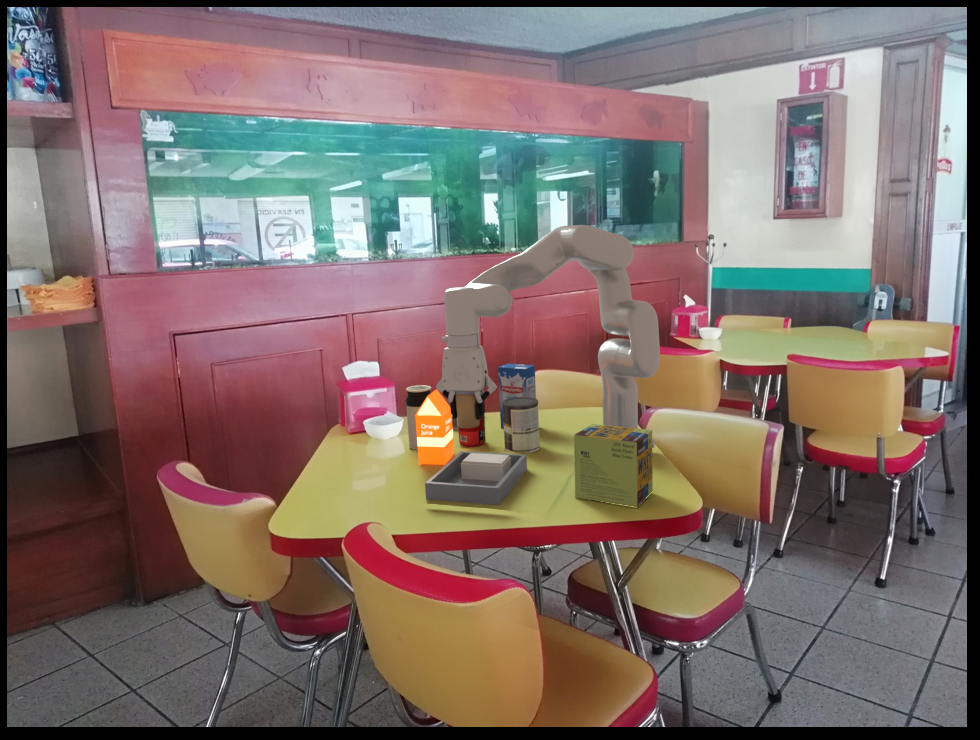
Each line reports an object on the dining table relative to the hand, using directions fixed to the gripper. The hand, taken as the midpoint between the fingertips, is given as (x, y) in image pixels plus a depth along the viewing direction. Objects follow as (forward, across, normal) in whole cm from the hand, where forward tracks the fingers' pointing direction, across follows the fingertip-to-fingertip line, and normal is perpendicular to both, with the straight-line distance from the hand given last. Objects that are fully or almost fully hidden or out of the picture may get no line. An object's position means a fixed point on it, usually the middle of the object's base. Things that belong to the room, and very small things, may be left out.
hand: (467, 417), depth 162 cm
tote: (+19, 0, +5) cm, 20 cm away
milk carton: (+20, -5, +58) cm, 61 cm away
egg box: (+18, 0, +11) cm, 21 cm away
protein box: (+20, +33, +6) cm, 39 cm away
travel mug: (+20, -28, +34) cm, 48 cm away
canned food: (+20, -14, +39) cm, 46 cm away
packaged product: (+20, -25, +60) cm, 68 cm away
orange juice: (+20, -18, +21) cm, 34 cm away
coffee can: (+20, +2, +37) cm, 42 cm away
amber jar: (+2, 0, 0) cm, 2 cm away
